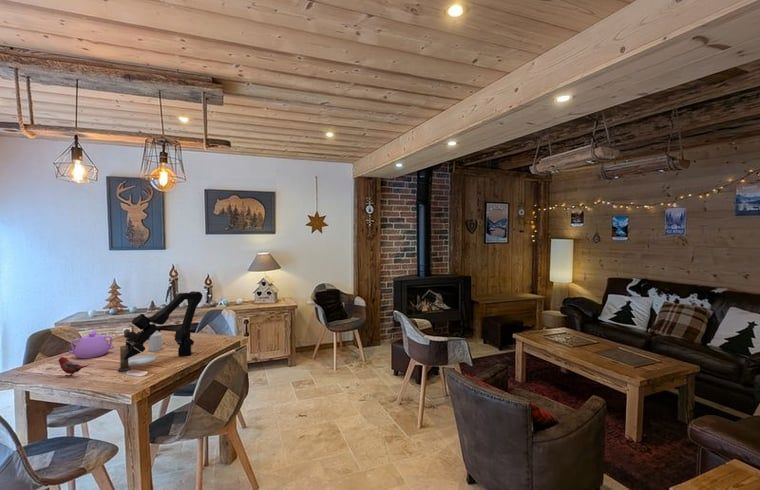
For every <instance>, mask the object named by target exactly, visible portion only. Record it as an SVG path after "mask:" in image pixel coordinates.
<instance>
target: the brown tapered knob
mask: <svg viewBox="0 0 760 490" xmlns="http://www.w3.org/2000/svg"><path fill="white" fill-rule="evenodd" d="M119 349H120V351H119V353H120V354H119V357H120V358H119V359H120V361H119V367H118V369H117V371H118V373H124V372H125V373H126V372H129V371H130V370H131V369H132V366H128V359H126V360H124V357H125V356H126V355H127V353H128V345H126V344H125V345H121V346H120V348H119Z"/></svg>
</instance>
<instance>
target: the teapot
mask: <svg viewBox="0 0 760 490" xmlns="http://www.w3.org/2000/svg"><path fill="white" fill-rule="evenodd" d="M107 338H109V342H108V340H107ZM76 341H78V342H77V343H76V345H75V347H74V342H76ZM112 343H113V336H111V335H103V334H97V329H95V328H94V329H93V330H92V332H90V333H88V335H85V336H82V337H81V338H75V339H72V340H71V342H70V348H71V349H69V351H68V354H69V355H74V356H75V357H76V358H78V359H90V358H96V357H98V358H99V357H102V356H103V355H105V354H107V353H108V351H109V350H114V349H115V345H114V344H112Z"/></svg>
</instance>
